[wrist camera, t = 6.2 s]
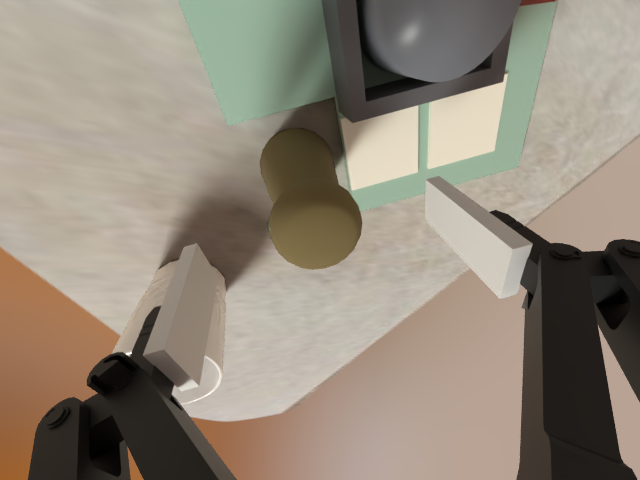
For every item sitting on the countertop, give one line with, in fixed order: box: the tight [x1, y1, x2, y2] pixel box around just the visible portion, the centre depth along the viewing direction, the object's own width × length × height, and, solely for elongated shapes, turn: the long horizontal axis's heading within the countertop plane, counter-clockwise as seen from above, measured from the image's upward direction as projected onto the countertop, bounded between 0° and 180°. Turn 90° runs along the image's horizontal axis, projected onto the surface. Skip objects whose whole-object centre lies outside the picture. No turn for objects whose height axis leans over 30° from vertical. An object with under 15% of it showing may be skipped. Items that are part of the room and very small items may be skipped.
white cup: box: [112, 260, 226, 405], centre depth 24 cm, size 8×8×10 cm
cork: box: [260, 128, 362, 269], centre depth 19 cm, size 6×6×11 cm
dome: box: [356, 0, 522, 82], centre depth 15 cm, size 7×7×5 cm
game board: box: [178, 0, 558, 231], centre depth 19 cm, size 19×24×4 cm
